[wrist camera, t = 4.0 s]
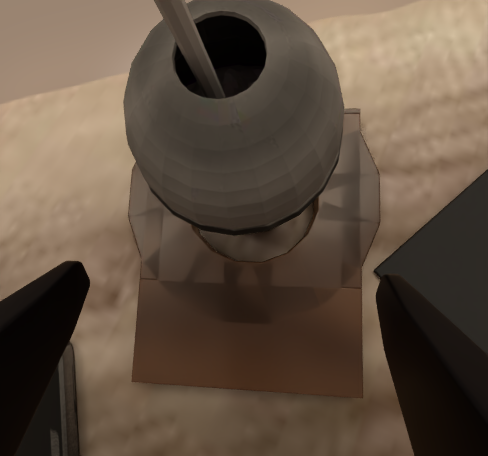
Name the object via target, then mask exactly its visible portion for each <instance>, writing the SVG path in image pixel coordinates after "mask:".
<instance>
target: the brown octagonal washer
mask: <svg viewBox="0 0 488 456" xmlns="http://www.w3.org/2000/svg"><path fill="white" fill-rule="evenodd" d="M128 216H129V221H130V224H131V227H132V230H133V234H134V237H135V240H136V243H137V246H138V249H139V253H140V256H141V259H142V261H141V273H140V284H139V296H138V309H137V321H136V333H135V346H134V358H133V370H132V382H141V383H155V384H169V385H184V386H198V387H212V388H226V389H240V390H254V391H268V392H283V393H297V394H311V395H325V396H339V397H353V398H363V362H362V289H361V288H362V266H363V263H364V261H365V259H366V256H367V254H368V251H369V249H370V247H371V244H372V242H373V239H374V237H375V235H376V232H377V230H378V228H379V225H380V224H379V223H380V178H379V172H378V169H377V167H376V165H375V163H374V161H373V158H372V156H371V154H370V152H369V150H368V147H367V145H366V143H365V141H364V139H363V136H362V134H361V132H360V109H344V119H343V134H342V141H341V148H340V155H339V162H338V164H337V166H336V168H335V170H334V172H333V174H332V176H331V178H330V180H329V181H328V183H327V185H326V187H325V189H324V191H323V192H322V193H321V194H320V195H319V196H318V197H317V198H316V199H315V200H314V208H313V217H312V219H311V222H310V224H309V226H308V228H307V231H306V233H305V235H304V237H303V238H302V239H301V240H300V241H299V242H298V243H297V244H296V245H295V246H294V247H293V248H292V249H291V250H289V251H288V252H287V253H285V254H282V255H280V256H277V257H274V258H272V259H269V260H266V261H264V262H246V261H235V260H233V259H231V258H229V257H227V256H224V255H222V254H220V253H218V252H216V251H215V250H214V249H213V248H212V247H211V245H210V244H209V243H208V242H207V241H206V240H205V239H204V238H203V237H202V236H201V234H200V233H199V230H198V228H197V227H195V226H193V225H191V224H189V223H187V222H185V221H184V220H182V219H180V218H178V217H176V216H174V215H173V214H172V213H171V212H170V211H169V210H168V209H167V208H166V207H165V206H164V205H163V204H162V203H161V202H160V201H159V200H158V198H157V197H156V196H155V195H154V194H153V193H152V192H151V190H150V188H149V185H148V183H147V182H146V181H145V179H144V177H143V175H142V173H141V171H140V169H139V167H138V165H137V162H136V163H135V165H134V167H133V169H132V178H131V189H130V200H129V212H128Z"/></svg>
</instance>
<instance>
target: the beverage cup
mask: <svg viewBox="0 0 488 456" xmlns="http://www.w3.org/2000/svg"><path fill="white" fill-rule="evenodd" d="M154 1H155V3H156V5H157V7H158V9H159V11H160V13H161V14H162V16H163V18H164V19H163V20H162V21H161V22H160V23H158V24H157V25H156V26H155V27H154V28H153V29H152V30H151V31H150V33H149V35H148V36H147V38H146V40H145V41H144V43H143V45H142V46H141V48H140V50H139V52H138V53H137V55H136V57H135V59H134V60H133V62H132V64H131V68H130V73H129V77H128V81H127V86H126V90H125V95H124V102H123V103H124V114H125V125H126V135H127V141H128V145H129V147H130V149H131V151H132V154H133V156H134V158H135V160H136V162H137V165H138V167H139V169H140V171H141V173H142V175H143V177H144V179H145V181H146V182H147V183H148V185H149V188H150V190H151V192H152V193H153V194H154V195H155V196H156V197H157V198H158V200H159V201H160V202H161V203H162V204H163V205H164V206H165V207H166V208H167V209H168V210H169V211H170V212H171V213H172V214H173V215H174V216H176V217H178V218H180V219H182V220H184V221H185V222H187V223H189V224H191V225H193V226H195V227H197V228H199V229H201V230H204V231H210V232H216V233H222V234H228V235H234V236H235V235H242V234H249V233H257V232H263V231H268V230H271V229H273V228H275V227H277V226H279V225H281V224H283V223H285V222H287V221H289V220H291V219H293V218H295V217H297V216H299V215H300V214H301V213H302V212H303V211H304V210H305V209H306V208H307V207H308V206H309V205H310V204H311V203H312V202H313V201H314V200H315V199H316V198H317V197H318V196H319V195H320V194H321V193H322V192H323V191H324V189H325V187H326V185H327V183H328V181H329V180H330V178H331V176H332V174H333V172H334V170H335V168H336V166H337V164H338V162H339V155H340V148H341V141H342V134H343V119H344V103H343V98H342V93H341V88H340V83H339V78H338V74H337V70H336V67H335V64H334V62H333V61H332V59H331V57H330V56H329V54H328V52H327V51H326V49H325V47H324V46H323V44H322V42H321V41H320V39H319V37H318V36H317V34H316V33H315V32H314V30H313V29H312V28H311V27H310V26H308V25H307V24H306V23H305V22H304V21H302V20H301V19H300V18H299V17H297V16H296V15H295V14H294V13H293V12H292V11H291V10H289V9H288V8H286V7H284V6H283V5H280V4H278V3H275V2H273V1H270V0H193V1H191V2H189V3H187V4H186V2H185V0H154Z"/></svg>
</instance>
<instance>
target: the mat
mask: <svg viewBox="0 0 488 456" xmlns="http://www.w3.org/2000/svg"><path fill="white" fill-rule="evenodd" d="M374 271H375V273H376V274H377V275H378V276H379V277H380V278H382V276H383V275H384V274H399V275H400V276H402V277H403V278H404V279H405V280H406V281H407V282H408V283H409V284H411V285H412V286H413V287H414V288H415V289H416V290H417V291H418V292H419V293H420V294H422V295H423V296H424V297H425V298H426V299H427V300H428V301H429V302H430V303H431V304H433V305H434V306H435V307H436V308H437V309H438V310H439V311H440V312H441V313H442V314H444V315H445V316H446V317H447V318H448V319H449V320H450V321H451V322H452V323H453V324H455V325H456V326H457V327H458V328H459V329H460V330H461V331H462V332H463V333H464V334H466V335H467V336H468V337H469V338H470V339H471V340H472V341H473V342H474V343H475V344H477V345H478V346H479V347H480V348H481V349H482V350H483V351H484V352H485V353H486V354H488V169H487V170H486V171H485V172H484V173H483V174H482V175H481V176H480V177H478V178H477V179H476V180H475V181H474V182H473V183H472V184H471V185H469V186H468V187H467V188H466V189H465V190H464V191H463V192H462V193H460V194H459V195H458V196H457V197H456V198H455V199H454V200H453V201H451V202H450V203H449V204H448V205H447V206H446V207H445V208H443V209H442V210H441V211H440V212H439V213H438V214H437V215H436V216H434V217H433V218H432V219H431V220H430V221H429V222H428V223H427V224H425V225H424V226H423V227H422V228H421V229H420V230H419V231H418V232H416V233H415V234H414V235H413V236H412V237H411V238H410V239H408V240H407V241H406V242H405V243H404V244H403V245H402V246H401V247H399V248H398V249H397V250H396V251H395V252H394V253H393V254H392V255H390V256H389V257H388V258H387V259H386V260H385V261H384V262H383V263H381V264H380V265H379V266H378V267H377V268H376V269H375V270H374Z"/></svg>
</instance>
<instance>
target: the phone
mask: <svg viewBox="0 0 488 456" xmlns="http://www.w3.org/2000/svg"><path fill="white" fill-rule="evenodd" d="M15 456H79V453H78V435H77V416H76V398H75V379H74V361H73V350H72V346H71V344H70V343H68V345H67V347H66V349H65V351H64V353H63V355H62V357H61V359H60V362H59V364H58V366H57V368H56V370H55V372H54V374H53V376H52V378H51V380H50V383H49V385H48V387H47V389H46V391H45V393H44V395H43V397H42V399H41V402H40V404H39V406H38V408H37V410H36V412H35V414H34V416H33V418H32V420H31V423H30V425H29V427H28V429H27V431H26V433H25V435H24V437H23V439H22V442H21V444H20V446H19V448H18V450H17V452H16V454H15Z"/></svg>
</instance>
